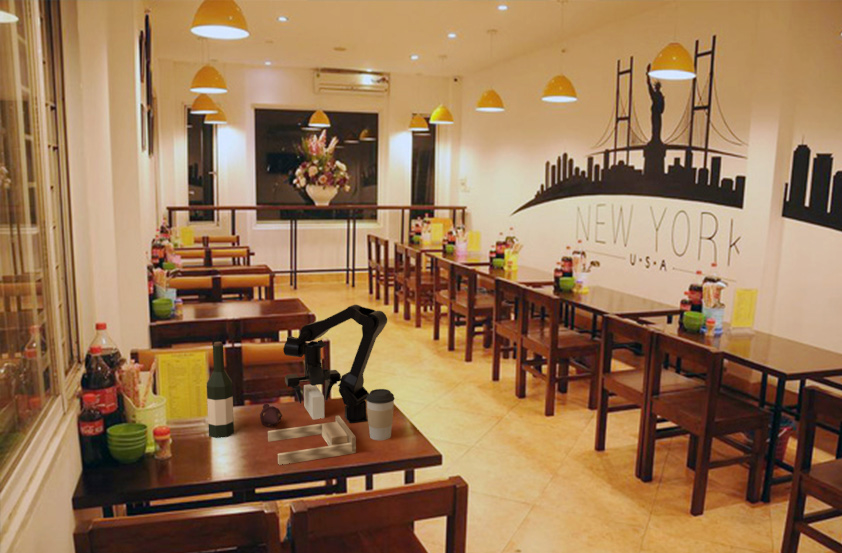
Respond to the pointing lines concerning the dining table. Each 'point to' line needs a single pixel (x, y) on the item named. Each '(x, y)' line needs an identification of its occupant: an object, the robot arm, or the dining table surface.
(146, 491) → the dining table surface
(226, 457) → the dining table surface
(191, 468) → the dining table surface
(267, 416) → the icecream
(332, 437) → the offcut upper
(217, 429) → the wine bottle
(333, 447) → the frame
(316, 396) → the white rectangular block
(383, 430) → the coffee cup
